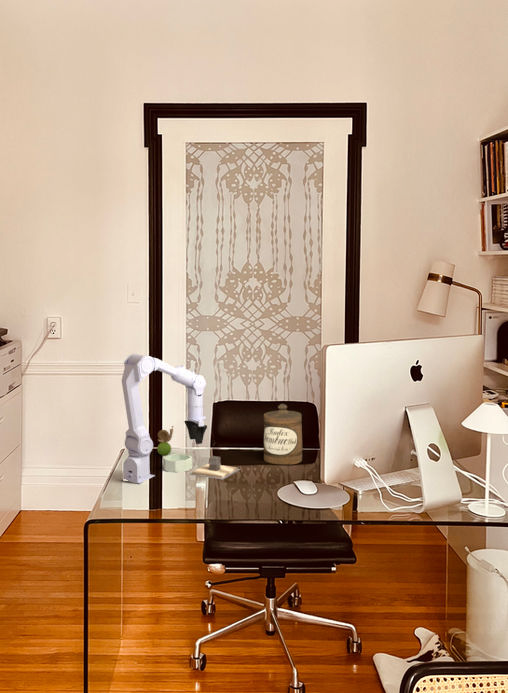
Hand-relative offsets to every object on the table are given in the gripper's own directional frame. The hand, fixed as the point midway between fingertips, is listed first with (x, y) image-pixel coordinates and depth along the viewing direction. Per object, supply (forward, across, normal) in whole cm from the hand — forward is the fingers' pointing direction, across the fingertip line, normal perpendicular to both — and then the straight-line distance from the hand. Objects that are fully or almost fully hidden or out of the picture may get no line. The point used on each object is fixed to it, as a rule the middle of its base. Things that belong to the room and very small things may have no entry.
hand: (195, 441), depth 267 cm
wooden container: (+10, -6, -33) cm, 35 cm away
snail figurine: (+10, +18, +7) cm, 22 cm away
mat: (+9, -12, -3) cm, 16 cm away
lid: (+9, -12, -3) cm, 15 cm away
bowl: (+9, -2, +8) cm, 12 cm away
